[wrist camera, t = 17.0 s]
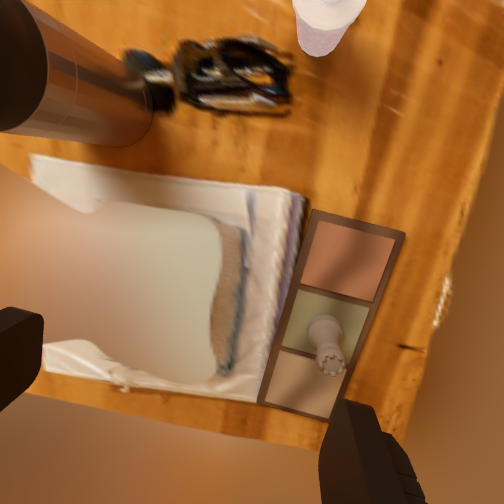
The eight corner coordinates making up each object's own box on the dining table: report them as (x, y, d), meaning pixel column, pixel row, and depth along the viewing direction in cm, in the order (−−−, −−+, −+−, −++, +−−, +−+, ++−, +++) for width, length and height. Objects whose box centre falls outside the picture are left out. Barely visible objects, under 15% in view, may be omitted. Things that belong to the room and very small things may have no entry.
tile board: (257, 398, 46) (256, 405, 45) (312, 208, 39) (313, 210, 37) (332, 418, 46) (333, 426, 44) (402, 231, 38) (407, 233, 37)
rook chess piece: (343, 314, 40) (356, 348, 32) (340, 345, 41) (352, 386, 34) (307, 311, 40) (312, 345, 33) (304, 343, 42) (309, 383, 34)
